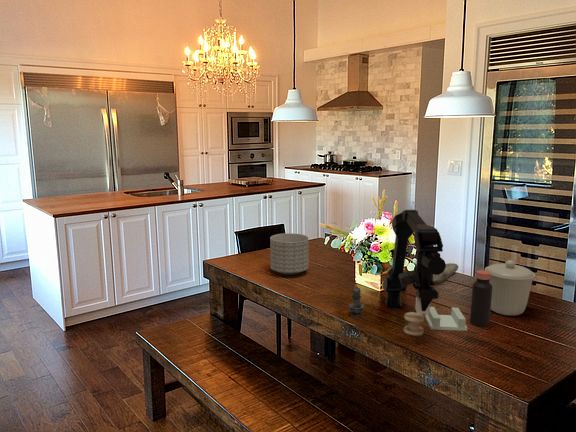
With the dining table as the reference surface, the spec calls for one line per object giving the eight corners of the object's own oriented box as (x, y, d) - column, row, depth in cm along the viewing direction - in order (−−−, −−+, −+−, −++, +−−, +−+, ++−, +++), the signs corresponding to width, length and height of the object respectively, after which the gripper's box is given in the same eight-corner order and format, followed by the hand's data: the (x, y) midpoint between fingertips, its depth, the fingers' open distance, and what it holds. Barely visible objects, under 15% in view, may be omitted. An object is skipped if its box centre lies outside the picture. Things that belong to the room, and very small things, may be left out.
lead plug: (415, 308, 165) (416, 293, 164) (427, 309, 165) (428, 294, 164) (417, 313, 161) (418, 298, 160) (429, 313, 161) (430, 298, 160)
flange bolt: (353, 310, 191) (354, 281, 189) (366, 313, 188) (367, 285, 185) (345, 314, 187) (346, 285, 185) (358, 318, 183) (359, 289, 181)
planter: (308, 278, 230) (308, 242, 226) (269, 278, 230) (269, 242, 226) (307, 267, 248) (308, 233, 245) (271, 266, 249) (271, 233, 245)
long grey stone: (463, 272, 244) (443, 269, 250) (463, 262, 244) (444, 260, 250) (438, 287, 217) (417, 284, 223) (438, 276, 216) (417, 272, 222)
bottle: (477, 327, 175) (482, 275, 171) (466, 320, 182) (469, 270, 178) (493, 325, 177) (497, 274, 173) (481, 318, 183) (485, 268, 179)
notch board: (424, 317, 184) (425, 306, 184) (459, 318, 183) (460, 307, 182) (430, 329, 174) (431, 318, 173) (467, 330, 173) (468, 319, 172)
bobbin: (402, 327, 176) (403, 311, 174) (421, 327, 175) (422, 312, 174) (405, 335, 169) (405, 319, 168) (425, 336, 168) (426, 320, 167)
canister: (532, 307, 194) (537, 258, 190) (529, 323, 179) (534, 270, 174) (485, 299, 203) (489, 251, 199) (478, 314, 188) (482, 262, 183)
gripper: (397, 256, 170) (395, 297, 173) (404, 273, 151) (401, 318, 155) (429, 257, 168) (426, 298, 172) (440, 274, 150) (437, 320, 153)
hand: (422, 308), depth 163 cm, fingers closed on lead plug, 4 cm apart
